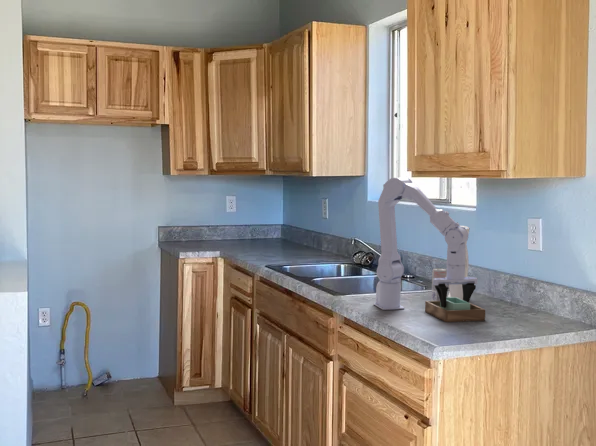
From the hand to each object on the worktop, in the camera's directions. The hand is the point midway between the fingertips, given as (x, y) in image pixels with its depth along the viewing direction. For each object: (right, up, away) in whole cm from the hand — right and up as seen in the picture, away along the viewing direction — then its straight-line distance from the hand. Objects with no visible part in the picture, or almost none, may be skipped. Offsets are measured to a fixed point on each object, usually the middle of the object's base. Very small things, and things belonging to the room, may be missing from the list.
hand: (454, 306), depth 221 cm
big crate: (0, -3, 0) cm, 3 cm away
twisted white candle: (+7, -1, +30) cm, 31 cm away
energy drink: (-1, -1, +21) cm, 21 cm away
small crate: (0, -2, 0) cm, 2 cm away
